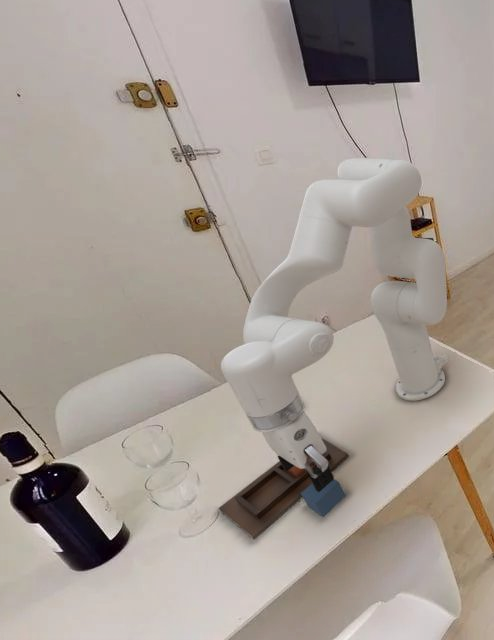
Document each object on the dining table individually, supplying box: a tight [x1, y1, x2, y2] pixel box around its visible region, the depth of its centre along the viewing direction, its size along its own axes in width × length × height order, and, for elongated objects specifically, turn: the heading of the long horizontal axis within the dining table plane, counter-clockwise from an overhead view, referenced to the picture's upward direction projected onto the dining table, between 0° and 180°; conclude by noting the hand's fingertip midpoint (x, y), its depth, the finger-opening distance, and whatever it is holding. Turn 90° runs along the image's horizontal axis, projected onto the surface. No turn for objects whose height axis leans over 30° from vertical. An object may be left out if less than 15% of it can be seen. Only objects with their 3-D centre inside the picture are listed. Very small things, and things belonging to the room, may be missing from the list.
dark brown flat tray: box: [218, 437, 350, 540], centre depth 86 cm, size 20×12×2 cm, turn 152°
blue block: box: [301, 478, 346, 518], centre depth 81 cm, size 5×5×4 cm
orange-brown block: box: [287, 456, 315, 477], centre depth 87 cm, size 5×5×4 cm
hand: (309, 474), depth 77 cm, fingers open, 9 cm apart
